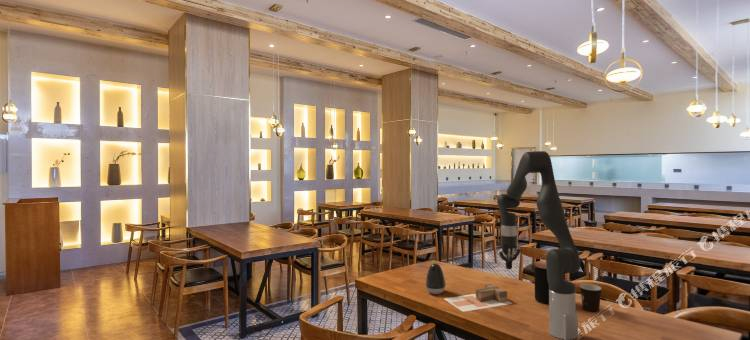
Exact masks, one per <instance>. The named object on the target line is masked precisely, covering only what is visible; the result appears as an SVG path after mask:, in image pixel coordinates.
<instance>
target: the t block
mask: <svg viewBox="0 0 750 340" xmlns="http://www.w3.org/2000/svg"><path fill="white" fill-rule="evenodd" d="M475 294H476V300H478V301H480V302H485V301H491V300H496V301H498V302H500V303H501V302H507V301H508V291H507V290H506V289H503V288H501V287H499V286H498V285H495V284H493V283H489V284H488V283H487V284H484V287H482V288H476V289H475Z"/></svg>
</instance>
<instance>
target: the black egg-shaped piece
mask: <svg viewBox="0 0 750 340" xmlns="http://www.w3.org/2000/svg"><path fill="white" fill-rule="evenodd" d="M425 287H426V289H427V292H429V293H430V294H432V295H441V294H442V293H444V291H445V289H446V279H445V275H444V271H443V269H442V267H441V266H440V264H438V263H432V264H430V265H429V267H428V269H427V272H426V278H425Z"/></svg>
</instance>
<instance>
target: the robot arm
mask: <svg viewBox="0 0 750 340" xmlns="http://www.w3.org/2000/svg"><path fill="white" fill-rule="evenodd" d="M528 174H540V177H541V188H540V190H539V192H538V195H537V199H536V208H537V212H538V215H539V216H538V217H539V218H540V220H541V222H542V223H543V224H544V225H545V227H547V229H548V230H549V231H550V232H551V234H553V235H554V237H555V238H556V240H557V241H558V244H559V248H555V249H550V250H548V252H547V253H546V258H545V259H546V265H547V280H548V284H549V305H548V307H549V308H548V312H549V313H548V315H549V316H548V317H549V321H548V325H549V334H550V335H551V336H553V337H554V338H557V339H561V340H574V339H578V338H579V313H578V312H576V284H575V283H573V282H572V281H569V280H566V279H564V274H573V273H577V272H579V271H580V268H581V259H580V254H579V252H578V250H577V247H576V245H575V242H574V240H573V237H572V234H571V232H570V228H569V225H568V222H567V218H566V215H565V212H564V207H563V205H562V200H561V198H560V195H559V192H558V188H557V185H556V180H555V179H556V178H555V175H554V169H553V162H552V159H551V156H550V154H549V153H548V152H547V151H545V150H544V151H543V150H541V151H535V150H534V151H526V152H525V153H523V154H522V155H521V158H520V160H519V162H518V166H517V168H516V171H515V174H514V177H513V179H512V181H511V183H510V184H509V185H508V186H507V189H506V193H502V194H499V195H498V196H497V199H496V203H497V206H498V209H499V214H500V244H501V246H500V249H499V250H496V254H498V255H497V256H498V257H500V259H501V260H502V261H504V262H505V269H507V270H512V268H513V262H514V261H515V260H517V259H518V257H519V255H520V253H521V252H522V251H521V249H519V248H518V246H517V244H518V243H517V242H518V237H517V236H518V234H517V233H518V230H517V215H516V213H512V212H508V210H507V209H515V208H518V207H519V206H520V203H521V199H522V195H523V194H524V193H525V192H526V189H527V188H528V181H527V178H526V176H527V175H528Z"/></svg>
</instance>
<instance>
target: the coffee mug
mask: <svg viewBox="0 0 750 340" xmlns="http://www.w3.org/2000/svg"><path fill="white" fill-rule="evenodd" d="M579 290H580V298H581V306H582V309H583V310H584V311H585V312H588V313H589V312H590V313H598V312H599V311H600V305H601V298H602V297H601V296H602V290H603V289H602V287H601V286H598V285H596V284H590V283H589V284H587V283H585V284H584V283H583V284H580V285H579Z"/></svg>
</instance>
